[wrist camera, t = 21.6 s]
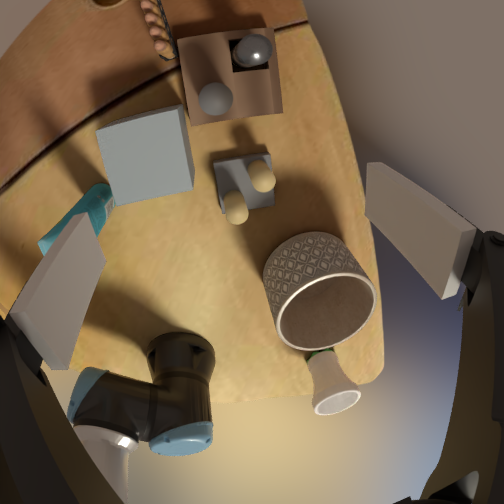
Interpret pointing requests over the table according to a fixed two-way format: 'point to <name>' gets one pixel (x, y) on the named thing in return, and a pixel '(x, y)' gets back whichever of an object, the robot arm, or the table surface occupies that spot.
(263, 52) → the peg
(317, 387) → the cup
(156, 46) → the ammunition clip
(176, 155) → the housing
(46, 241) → the tube
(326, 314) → the planter
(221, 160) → the board
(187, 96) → the socket board
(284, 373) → the table surface
